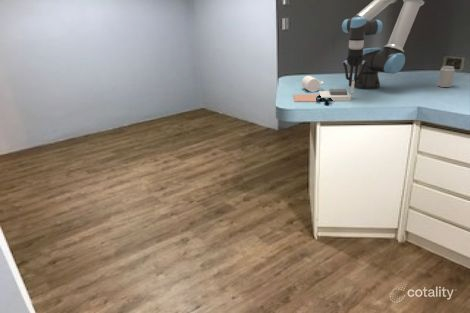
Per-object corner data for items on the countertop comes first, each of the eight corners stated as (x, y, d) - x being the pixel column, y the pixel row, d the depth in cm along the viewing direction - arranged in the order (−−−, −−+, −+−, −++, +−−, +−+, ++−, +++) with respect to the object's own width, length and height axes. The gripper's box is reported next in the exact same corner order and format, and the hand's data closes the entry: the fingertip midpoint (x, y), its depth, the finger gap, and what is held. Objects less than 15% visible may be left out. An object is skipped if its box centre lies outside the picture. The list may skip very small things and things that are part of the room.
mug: (307, 92, 222) (307, 79, 218) (301, 88, 231) (301, 76, 227) (325, 90, 224) (326, 77, 220) (319, 87, 233) (319, 74, 229)
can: (445, 88, 217) (449, 68, 212) (434, 86, 224) (438, 66, 219) (454, 87, 220) (458, 66, 215) (443, 84, 226) (447, 64, 221)
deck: (347, 95, 212) (347, 91, 211) (350, 101, 201) (350, 96, 200) (318, 95, 214) (318, 91, 213) (320, 101, 203) (320, 96, 202)
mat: (318, 95, 215) (318, 94, 215) (320, 101, 203) (320, 101, 202) (293, 95, 217) (293, 94, 217) (294, 101, 204) (294, 101, 204)
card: (345, 92, 209) (345, 88, 208) (347, 95, 203) (347, 91, 202) (329, 92, 210) (329, 89, 209) (330, 95, 204) (330, 91, 204)
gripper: (344, 49, 193) (340, 93, 203) (370, 49, 191) (365, 93, 201) (342, 47, 200) (338, 90, 209) (367, 47, 198) (362, 90, 208)
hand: (351, 92), depth 205 cm, fingers closed
